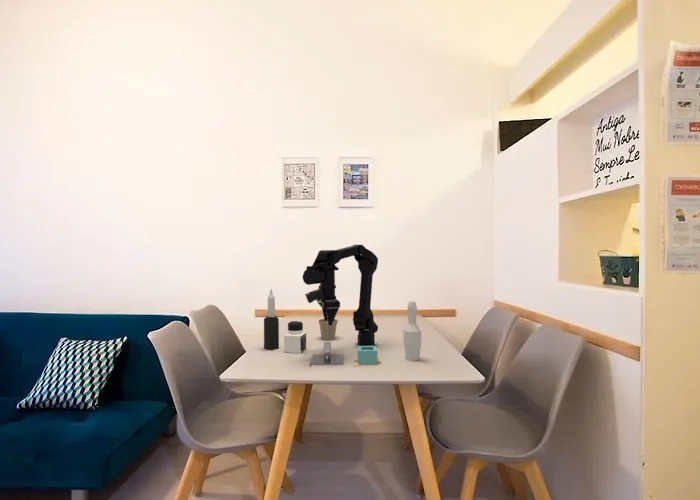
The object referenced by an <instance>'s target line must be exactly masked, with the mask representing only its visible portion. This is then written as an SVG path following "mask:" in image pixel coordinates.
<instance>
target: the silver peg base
mask: <svg viewBox="0 0 700 500" xmlns="http://www.w3.org/2000/svg"><path fill="white" fill-rule="evenodd" d="M344 357H345V355H344V353H339V354H337V353H334V354H333V353H332V343H331V342H330V341H324V342H323V353H322V354H321V353H320V354H319V353H317V354H315V353H313V354H312V355H311V359H310V362H309V367H312V366H344Z"/></svg>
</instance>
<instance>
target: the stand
mask: <svg viewBox="0 0 700 500" xmlns="http://www.w3.org/2000/svg"><path fill="white" fill-rule="evenodd" d="M352 359H353V360H352V361H353V367H383V363H382V361H381V358H380V357H378V365H358V357H354V358H352Z"/></svg>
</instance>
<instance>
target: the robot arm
mask: <svg viewBox="0 0 700 500" xmlns="http://www.w3.org/2000/svg"><path fill="white" fill-rule="evenodd" d="M350 257H353V258H354V260H355V261H356V262H357V263H358V264H357V268H358V270H359V271H360V286H359V301H358V308H357V309H356V310H354V311H353V313H352V315H353V316H352V321H353V322H352V323H353V326H354V330H355V331H356V332H357V331H358V332H357V333H358V334H357V343H356V345H357V346H376V347H377V344H376V343H375V334H376V333H377V332H378V330H379V329H378V328H379V326H378V324H377V323H376V322H375V321H374V313H373V311H372V309H371V303H372V289H373V277H374V274H375V272H376V270H377V269H378V264H379V258H378V257H377V255H376V254H375V253H374V252H373V251H372V250H369V249H368V248H366V247H365V246H364V245H363V244H352V245H351V246H345V247H342V248H338V249H335V250H334V249H326V250H325V249H323V250H322V249H321V250H319V251H318V253H317V256H316V257H315V259H314V261H313V263H312V265H307V266H306V267H305V268H306V269H305V270H304V271H303V274H302V280H303V283H304V284H305V285H308V286H310V285H318V284H319V285H318V289H317V288H316V289H314V290H311V291H309V292H307V293H305V294H304V296H305V298H306V300H307V303H308V304H311V303H314V302H315V301H316V302H317V304H318V305H319V306H320V308H321V310H322V311H321V312H322V315H323V319H324V320H325V321H327V320H328V325H332V323H333V321H334V319H336V315H337V313H338V312H339V310H340V308H341V302H340V300H338V299H337V295H336V289H337V285H336V272H335V271H339V269H340V268H339V267H338V266H337V265H336V264H339V262H341V260H342V259H343V260H344V259H348V258H350Z"/></svg>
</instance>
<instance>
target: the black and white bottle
mask: <svg viewBox="0 0 700 500" xmlns="http://www.w3.org/2000/svg"><path fill="white" fill-rule="evenodd" d="M273 293H274V292H273V289H272V288H271V289H270V290H269V294H268V296H267V315H266V316H265V317H264V318H263V349H264V350H267V351H274V350H279V348H280V335H279V334H280V329H279V327H280V326H279V325H280V319H279V317H278V316H277V315H276V314H275V313H276V308H275V307H276V304H275V303H276V302H275V299H276V297H275V296H274V294H273Z"/></svg>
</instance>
